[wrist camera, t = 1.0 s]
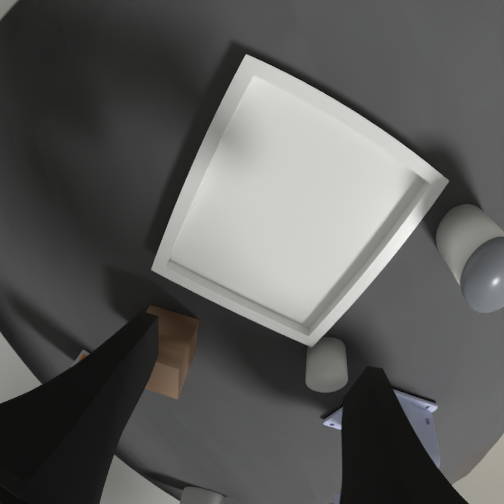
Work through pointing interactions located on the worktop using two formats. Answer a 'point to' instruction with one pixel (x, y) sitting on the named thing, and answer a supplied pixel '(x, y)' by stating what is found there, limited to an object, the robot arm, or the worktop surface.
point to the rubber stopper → (326, 365)
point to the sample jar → (474, 255)
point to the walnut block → (173, 351)
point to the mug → (200, 496)
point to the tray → (292, 205)
